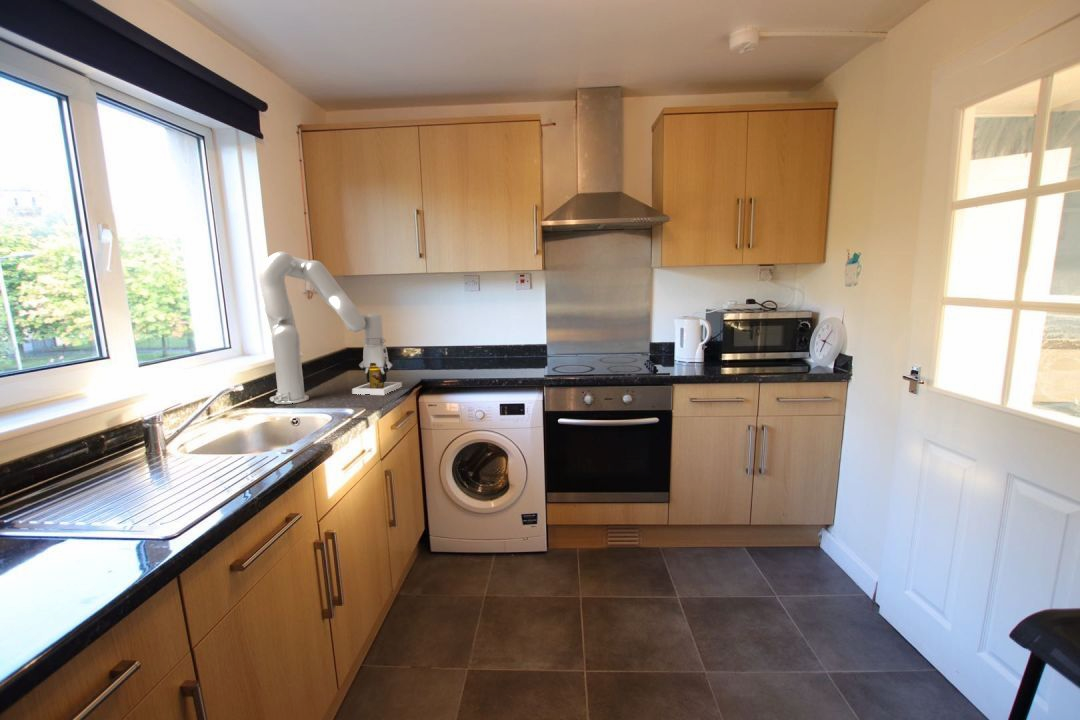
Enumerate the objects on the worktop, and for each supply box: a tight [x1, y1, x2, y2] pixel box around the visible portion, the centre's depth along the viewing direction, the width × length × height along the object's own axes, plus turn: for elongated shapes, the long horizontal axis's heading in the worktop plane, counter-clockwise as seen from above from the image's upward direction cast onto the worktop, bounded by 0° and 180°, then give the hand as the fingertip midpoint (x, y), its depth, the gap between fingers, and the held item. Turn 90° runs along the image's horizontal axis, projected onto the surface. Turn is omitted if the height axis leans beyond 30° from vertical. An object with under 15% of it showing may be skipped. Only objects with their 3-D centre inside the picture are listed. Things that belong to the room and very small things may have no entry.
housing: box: [351, 381, 403, 396], centre depth 206 cm, size 16×15×2 cm
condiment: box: [368, 363, 386, 389], centre depth 205 cm, size 7×8×12 cm
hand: (376, 381), depth 206 cm, fingers closed on condiment, 6 cm apart
